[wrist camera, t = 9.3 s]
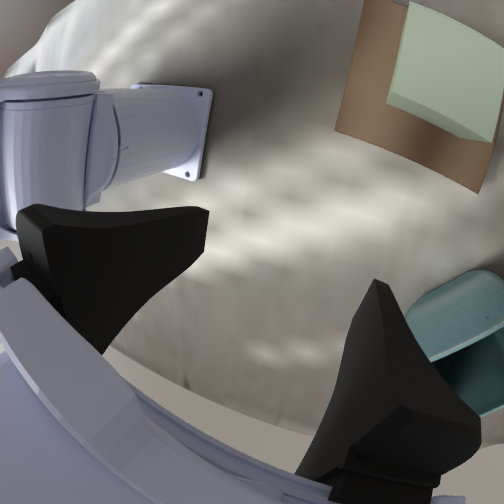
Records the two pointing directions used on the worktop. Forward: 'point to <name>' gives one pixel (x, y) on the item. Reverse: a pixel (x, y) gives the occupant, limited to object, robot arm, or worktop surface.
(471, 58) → the cube
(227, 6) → the worktop surface
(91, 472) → the robot arm
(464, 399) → the flower pot
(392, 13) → the base slab
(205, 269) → the worktop surface
